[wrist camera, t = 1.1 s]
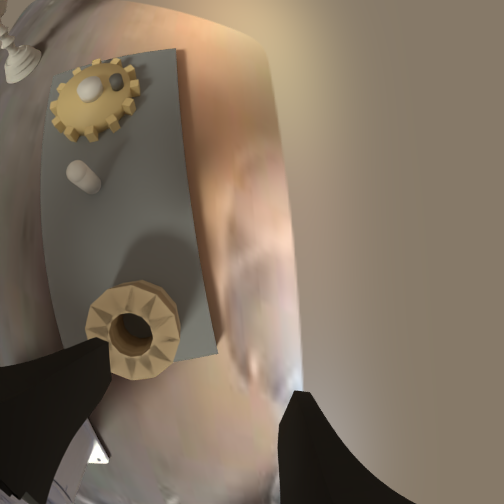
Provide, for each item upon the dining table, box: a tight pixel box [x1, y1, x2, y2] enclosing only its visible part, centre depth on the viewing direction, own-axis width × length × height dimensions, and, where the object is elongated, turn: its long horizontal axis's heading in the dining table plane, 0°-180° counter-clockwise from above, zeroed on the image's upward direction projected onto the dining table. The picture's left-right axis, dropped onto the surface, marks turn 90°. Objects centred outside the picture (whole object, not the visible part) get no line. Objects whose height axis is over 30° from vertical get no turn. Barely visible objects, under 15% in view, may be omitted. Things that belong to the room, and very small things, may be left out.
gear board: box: [40, 48, 218, 362], centre depth 16 cm, size 12×26×6 cm, turn 10°
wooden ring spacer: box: [85, 280, 181, 380], centre depth 16 cm, size 6×6×4 cm
